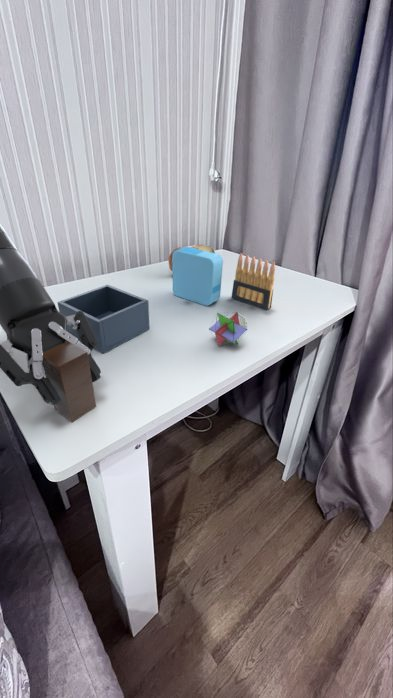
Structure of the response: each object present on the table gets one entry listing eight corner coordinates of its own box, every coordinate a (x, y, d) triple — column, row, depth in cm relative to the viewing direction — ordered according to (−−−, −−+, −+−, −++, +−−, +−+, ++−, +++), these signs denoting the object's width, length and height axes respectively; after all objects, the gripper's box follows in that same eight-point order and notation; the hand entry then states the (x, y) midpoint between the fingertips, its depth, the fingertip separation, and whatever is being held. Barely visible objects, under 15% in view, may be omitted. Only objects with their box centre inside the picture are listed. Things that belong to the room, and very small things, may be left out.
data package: (220, 301, 85) (223, 255, 78) (210, 307, 81) (213, 259, 75) (182, 289, 90) (183, 245, 84) (172, 294, 87) (172, 249, 80)
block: (53, 409, 50) (39, 353, 44) (78, 394, 53) (68, 340, 47) (71, 422, 48) (58, 366, 42) (96, 406, 51) (87, 352, 45)
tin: (171, 279, 97) (171, 250, 92) (167, 275, 99) (166, 247, 94) (215, 272, 103) (217, 244, 98) (210, 268, 105) (211, 241, 101)
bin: (102, 354, 63) (98, 322, 59) (63, 332, 69) (57, 302, 65) (149, 329, 71) (148, 300, 68) (110, 311, 77) (107, 284, 74)
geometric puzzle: (222, 349, 61) (242, 311, 61) (196, 335, 66) (215, 299, 65) (239, 357, 67) (258, 322, 67) (215, 343, 71) (232, 310, 71)
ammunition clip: (271, 308, 83) (279, 260, 76) (267, 310, 81) (275, 262, 75) (234, 296, 88) (239, 251, 81) (231, 298, 87) (235, 252, 80)
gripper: (-42, 293, 39) (37, 413, 39) (65, 264, 49) (127, 360, 49) (-45, 319, 44) (24, 424, 45) (51, 288, 54) (107, 375, 55)
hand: (78, 390), depth 47 cm, fingers open, 6 cm apart
